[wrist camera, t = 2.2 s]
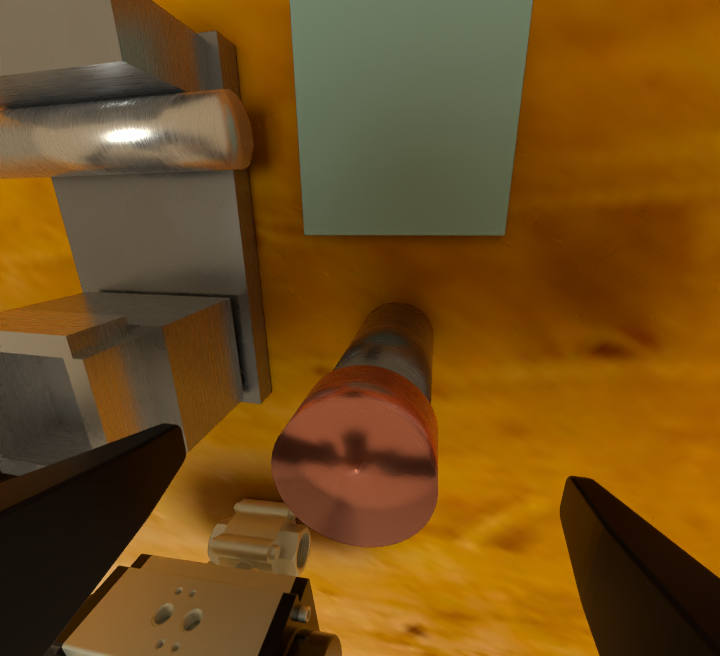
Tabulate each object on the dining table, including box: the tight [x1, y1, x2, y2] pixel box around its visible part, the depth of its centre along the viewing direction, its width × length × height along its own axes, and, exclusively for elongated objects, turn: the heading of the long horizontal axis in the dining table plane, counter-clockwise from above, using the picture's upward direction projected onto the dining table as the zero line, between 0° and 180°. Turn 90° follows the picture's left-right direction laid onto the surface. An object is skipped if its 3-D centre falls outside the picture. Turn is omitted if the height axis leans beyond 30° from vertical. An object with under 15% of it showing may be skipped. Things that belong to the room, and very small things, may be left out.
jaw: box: [0, 292, 244, 476], centre depth 14 cm, size 6×8×6 cm
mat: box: [290, 0, 533, 235], centre depth 13 cm, size 8×8×1 cm
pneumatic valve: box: [44, 499, 342, 656], centre depth 15 cm, size 6×12×12 cm, turn 97°
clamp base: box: [0, 0, 272, 404], centre depth 14 cm, size 15×11×5 cm
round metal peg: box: [271, 303, 438, 547], centre depth 11 cm, size 4×4×9 cm
